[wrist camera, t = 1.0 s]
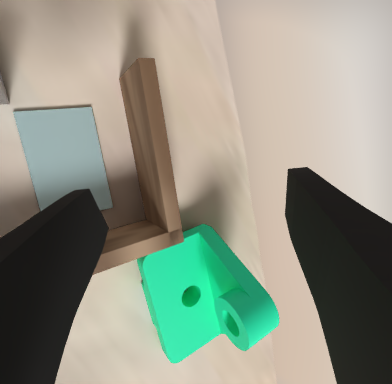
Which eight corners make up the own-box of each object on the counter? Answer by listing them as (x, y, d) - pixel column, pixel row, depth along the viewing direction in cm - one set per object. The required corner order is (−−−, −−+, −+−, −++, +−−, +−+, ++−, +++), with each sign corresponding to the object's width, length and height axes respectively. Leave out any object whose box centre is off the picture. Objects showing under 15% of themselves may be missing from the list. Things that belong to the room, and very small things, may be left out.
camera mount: (131, 249, 24) (180, 298, 16) (197, 221, 28) (268, 249, 19) (160, 350, 27) (216, 441, 18) (218, 313, 31) (287, 375, 22)
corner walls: (-16, 283, 19) (-35, 320, 14) (-85, 81, 16) (-135, 49, 12) (159, 227, 25) (184, 241, 21) (132, 78, 23) (154, 58, 18)
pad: (13, 112, 19) (13, 111, 18) (91, 107, 21) (91, 106, 21) (44, 224, 20) (44, 224, 20) (112, 206, 23) (113, 207, 23)
